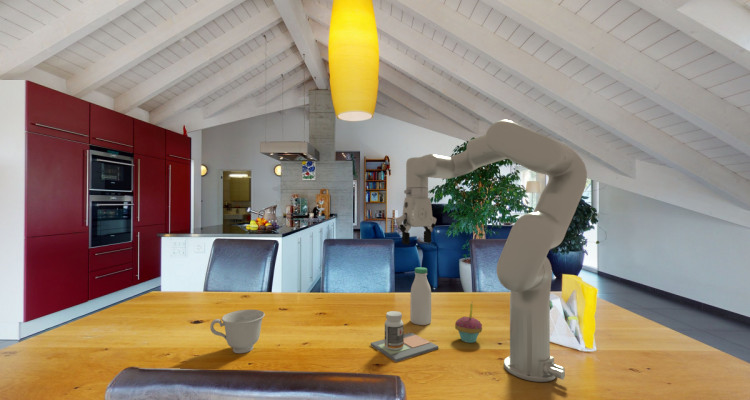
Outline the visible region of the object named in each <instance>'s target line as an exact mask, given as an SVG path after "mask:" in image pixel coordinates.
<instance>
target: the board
mask: <svg viewBox="0 0 750 400" xmlns="http://www.w3.org/2000/svg"><path fill="white" fill-rule="evenodd" d="M370 346H371V347H372V348H374V349H375V350H377V351H379V352H380V353H382V354H383V355H384V356H386V357H387V358H389V359H390V360H392V361H393V362H395V363H398V362H401V361H404V360H407V359H411V358H414V357H416V356H419V355H423V354H427V353H429V352H432V351H436V350H438V349H439V345H437V344H435V343H433V342H431V341H429V340H427V339H426V338H423V337H421V336H420V335H417V334H415V333H413V332H407V333H404V346H403V348H402V349H400V350H389V349H387V348H386V347H385V338H384V339H380V340H376V341H373V342H370Z"/></svg>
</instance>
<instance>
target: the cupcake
mask: <svg viewBox="0 0 750 400" xmlns="http://www.w3.org/2000/svg"><path fill="white" fill-rule="evenodd" d="M473 305H474V304H473V302H471V303H470V308H469V310H470V311H469V316H462V317H460V318H458V319H457V320H456V321H455V325H454V326H455V327H454V328H455V330H456V331H458V334H459V337H460V340H461V341H463V343H469V344H472V343H473V344H474V343H476V342H477V338H478V336H479V334H480V333H482V331H483V324H482V323H481V321H479V319H476V318H475V317H473Z"/></svg>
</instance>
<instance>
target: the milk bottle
mask: <svg viewBox="0 0 750 400" xmlns="http://www.w3.org/2000/svg"><path fill="white" fill-rule="evenodd" d="M414 275H415V276H414V280H413V282H412V284H411V287H410V301H409V302H410V310H409V311H410V316H409V317H410V319H409V320H410V322H411V323H412V324H414V325H417V326H427V325H430V324H431V323H432V289H431V285H430V283H429V281H428V278H427V275H428V268H427V267H424V266H423V267H419V266H418V267H415V268H414Z"/></svg>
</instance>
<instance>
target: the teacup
mask: <svg viewBox="0 0 750 400" xmlns="http://www.w3.org/2000/svg"><path fill="white" fill-rule="evenodd" d="M264 317H265V312H264V311H262V310H259V309H240V310H236V311H232V312H228V313H226V314H224V315H223V316H222V317H221V319H220V318H215V319H214V320H212V322H211V323H210V332H211V333H212V334H214V335H215V336H219V337H223V339H225V341H226V343H227V345H228V347H230V348H232V352H233V353H235V354H246V353H249V352H251V351H252V350H253V349H254V345H256V343H258V341H259V340H260V336H261V329H262V322H263V318H264ZM215 324H219V327H224V331H225V334H224V333H223V332H220V331H217V330H216V329H215V327H214V326H215Z"/></svg>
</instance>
